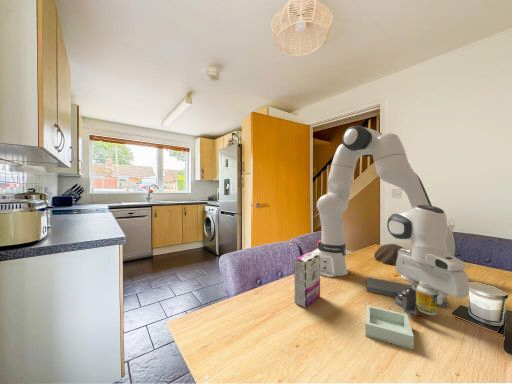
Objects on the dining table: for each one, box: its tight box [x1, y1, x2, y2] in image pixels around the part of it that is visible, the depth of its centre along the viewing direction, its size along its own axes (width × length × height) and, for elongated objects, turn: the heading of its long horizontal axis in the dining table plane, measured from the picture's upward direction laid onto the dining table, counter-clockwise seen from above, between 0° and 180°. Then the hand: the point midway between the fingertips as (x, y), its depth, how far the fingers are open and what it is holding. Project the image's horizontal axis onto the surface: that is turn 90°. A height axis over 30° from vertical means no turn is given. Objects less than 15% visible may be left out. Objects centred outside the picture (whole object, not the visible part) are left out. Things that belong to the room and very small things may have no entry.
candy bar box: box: [293, 251, 321, 309], centre depth 79 cm, size 11×5×16 cm, turn 138°
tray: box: [365, 304, 415, 351], centre depth 62 cm, size 11×11×4 cm
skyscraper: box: [445, 219, 456, 257], centre depth 101 cm, size 8×8×28 cm
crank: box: [397, 288, 417, 315], centre depth 73 cm, size 14×5×8 cm, turn 152°
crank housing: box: [366, 277, 448, 309], centre depth 82 cm, size 25×17×2 cm
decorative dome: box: [373, 243, 404, 267], centre depth 123 cm, size 19×20×10 cm
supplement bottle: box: [416, 281, 438, 316], centre depth 70 cm, size 5×5×10 cm
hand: (426, 297), depth 70 cm, fingers closed on supplement bottle, 5 cm apart
